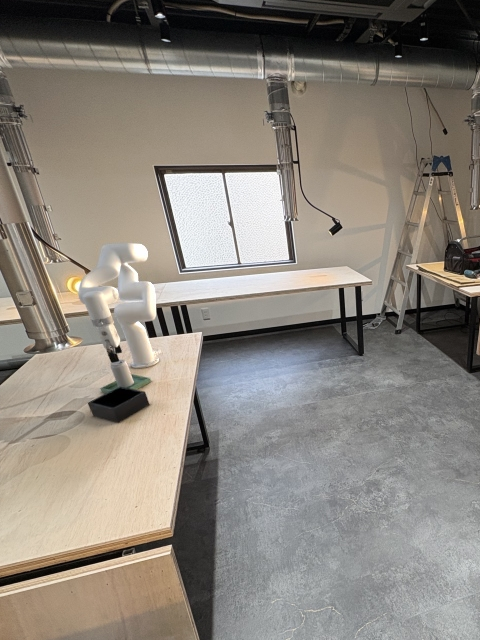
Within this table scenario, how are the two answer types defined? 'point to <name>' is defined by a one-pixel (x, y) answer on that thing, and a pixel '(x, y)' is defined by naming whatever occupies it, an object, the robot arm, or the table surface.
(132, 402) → the open box
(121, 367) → the beverage can
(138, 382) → the tray
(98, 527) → the table surface
